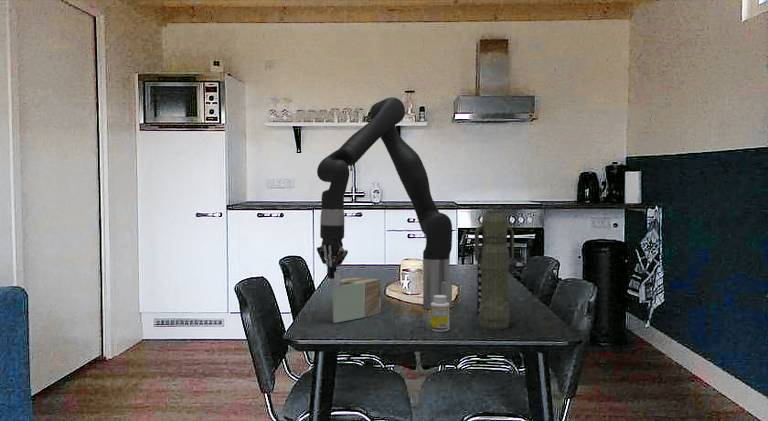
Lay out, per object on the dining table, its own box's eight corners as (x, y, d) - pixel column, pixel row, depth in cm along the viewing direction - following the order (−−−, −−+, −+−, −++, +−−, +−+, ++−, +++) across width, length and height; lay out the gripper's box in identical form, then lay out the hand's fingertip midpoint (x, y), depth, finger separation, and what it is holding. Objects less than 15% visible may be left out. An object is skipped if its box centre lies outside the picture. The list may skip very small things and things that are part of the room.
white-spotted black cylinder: (487, 319, 211) (487, 256, 210) (472, 314, 218) (472, 254, 217) (508, 316, 215) (508, 255, 214) (492, 311, 222) (492, 252, 221)
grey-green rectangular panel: (363, 316, 215) (362, 268, 214) (366, 317, 213) (366, 268, 212) (332, 322, 206) (331, 272, 206) (335, 323, 205) (335, 272, 204)
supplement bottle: (438, 327, 200) (438, 293, 199) (453, 329, 196) (453, 295, 196) (427, 330, 196) (427, 296, 195) (442, 333, 192) (442, 298, 192)
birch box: (380, 312, 223) (380, 279, 222) (364, 317, 214) (364, 283, 214) (351, 308, 229) (350, 277, 228) (334, 313, 220) (334, 281, 220)
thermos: (518, 328, 198) (519, 211, 196) (481, 330, 195) (481, 212, 194) (506, 322, 207) (507, 210, 205) (471, 323, 204) (471, 210, 202)
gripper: (355, 224, 205) (354, 279, 206) (328, 221, 215) (327, 274, 216) (336, 225, 200) (336, 282, 201) (309, 222, 209) (309, 276, 210)
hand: (331, 278), depth 208 cm, fingers closed
